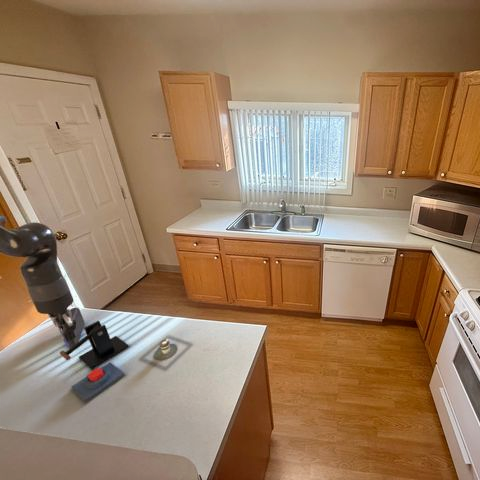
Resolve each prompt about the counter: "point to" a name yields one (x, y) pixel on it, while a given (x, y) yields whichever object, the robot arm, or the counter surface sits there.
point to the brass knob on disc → (165, 350)
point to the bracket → (101, 346)
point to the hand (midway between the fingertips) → (70, 339)
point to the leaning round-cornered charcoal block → (79, 327)
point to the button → (96, 374)
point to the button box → (97, 382)
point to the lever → (66, 354)
